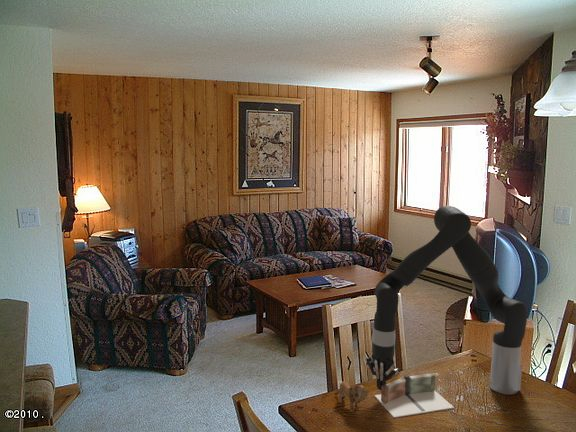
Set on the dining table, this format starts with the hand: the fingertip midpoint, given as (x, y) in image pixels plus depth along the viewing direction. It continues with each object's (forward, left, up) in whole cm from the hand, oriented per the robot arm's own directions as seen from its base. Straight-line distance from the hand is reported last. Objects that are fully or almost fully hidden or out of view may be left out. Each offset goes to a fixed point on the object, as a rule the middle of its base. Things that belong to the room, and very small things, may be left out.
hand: (380, 388), depth 169 cm
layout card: (-10, +5, -4) cm, 11 cm away
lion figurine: (+11, +1, -4) cm, 12 cm away
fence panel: (-4, +2, -3) cm, 5 cm away
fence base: (-15, 0, -3) cm, 15 cm away
